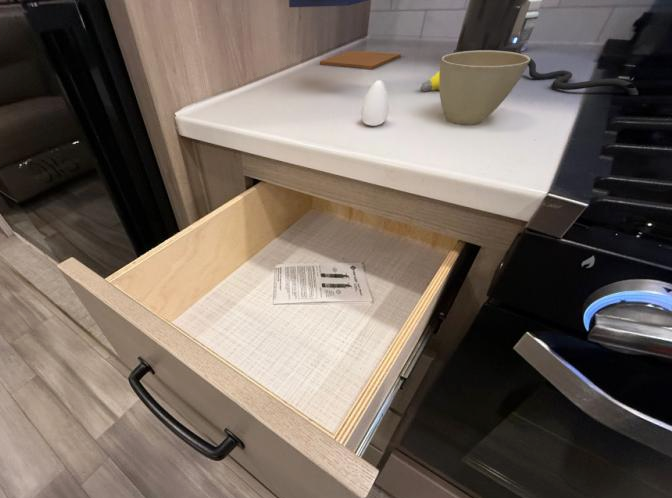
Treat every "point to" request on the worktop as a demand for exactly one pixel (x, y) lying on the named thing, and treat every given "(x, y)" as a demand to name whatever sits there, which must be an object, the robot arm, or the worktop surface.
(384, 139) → the worktop surface
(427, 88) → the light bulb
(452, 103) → the flower pot
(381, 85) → the egg
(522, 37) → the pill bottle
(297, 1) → the navy rectangular block
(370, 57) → the mat
